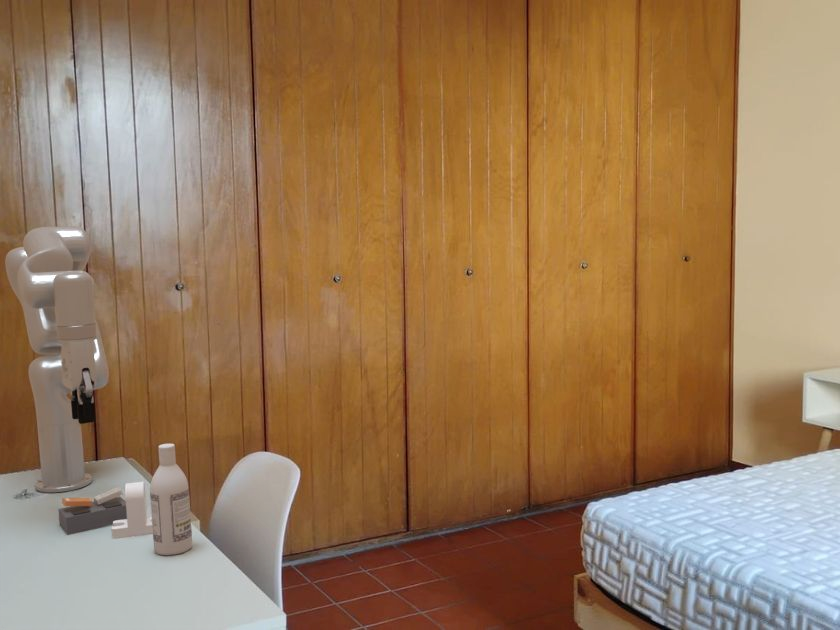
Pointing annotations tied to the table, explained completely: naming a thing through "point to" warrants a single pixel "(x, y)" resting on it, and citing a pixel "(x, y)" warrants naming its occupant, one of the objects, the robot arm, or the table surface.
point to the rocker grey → (108, 495)
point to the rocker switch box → (92, 515)
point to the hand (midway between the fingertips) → (83, 419)
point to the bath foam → (170, 505)
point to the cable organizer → (133, 514)
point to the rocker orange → (76, 502)
